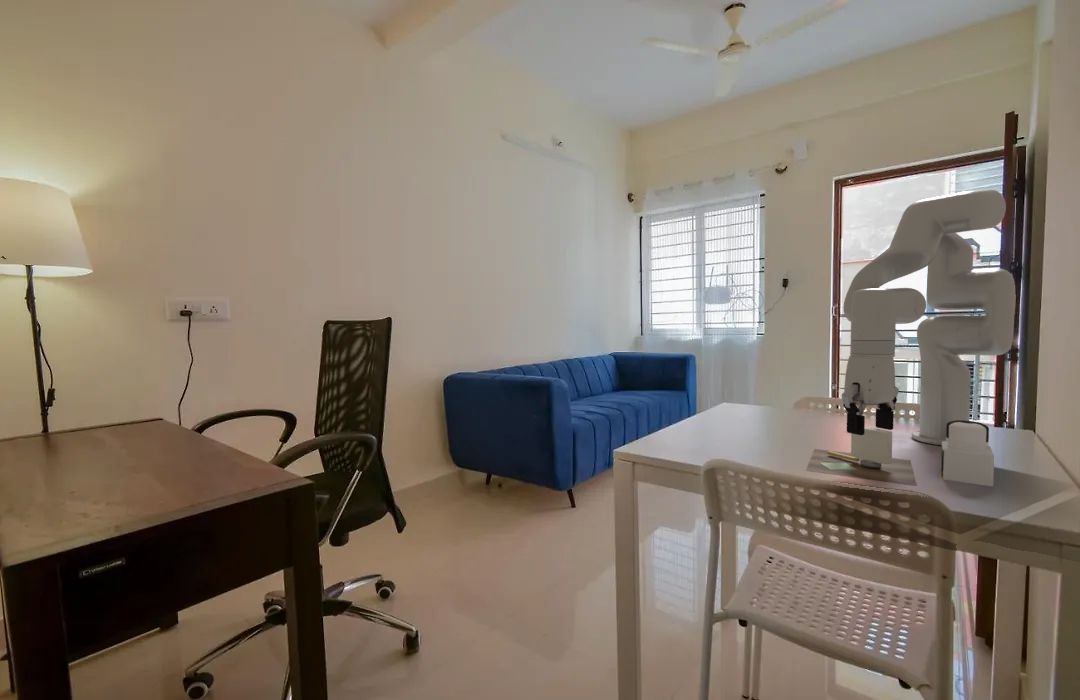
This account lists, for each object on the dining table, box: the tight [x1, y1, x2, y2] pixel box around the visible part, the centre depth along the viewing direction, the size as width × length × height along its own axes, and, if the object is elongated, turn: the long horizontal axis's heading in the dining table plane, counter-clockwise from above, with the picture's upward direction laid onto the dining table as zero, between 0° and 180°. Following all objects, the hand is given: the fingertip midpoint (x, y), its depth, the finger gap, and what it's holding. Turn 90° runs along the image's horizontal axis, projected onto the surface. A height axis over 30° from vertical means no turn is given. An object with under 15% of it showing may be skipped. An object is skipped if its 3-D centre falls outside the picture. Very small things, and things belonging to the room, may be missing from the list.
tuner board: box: [805, 448, 918, 487], centre depth 100 cm, size 18×18×1 cm
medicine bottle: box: [940, 420, 995, 487], centre depth 90 cm, size 7×7×12 cm
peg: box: [828, 426, 893, 468], centre depth 101 cm, size 4×12×8 cm, turn 25°
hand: (870, 431), depth 98 cm, fingers open, 9 cm apart
